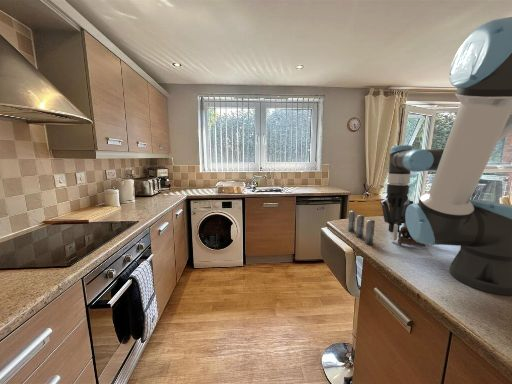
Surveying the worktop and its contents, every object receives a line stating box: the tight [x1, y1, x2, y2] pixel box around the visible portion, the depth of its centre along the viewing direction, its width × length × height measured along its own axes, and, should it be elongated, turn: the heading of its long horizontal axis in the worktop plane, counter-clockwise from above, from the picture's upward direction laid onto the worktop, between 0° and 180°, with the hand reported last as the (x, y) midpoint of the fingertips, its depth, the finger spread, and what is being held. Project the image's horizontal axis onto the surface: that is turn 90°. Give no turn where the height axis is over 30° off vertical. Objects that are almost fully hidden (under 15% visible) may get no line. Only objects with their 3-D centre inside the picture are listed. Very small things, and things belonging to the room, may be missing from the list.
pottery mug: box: [397, 226, 426, 247], centre depth 91 cm, size 12×10×8 cm
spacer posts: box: [347, 210, 407, 246], centre depth 100 cm, size 19×25×10 cm
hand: (393, 239), depth 93 cm, fingers closed
